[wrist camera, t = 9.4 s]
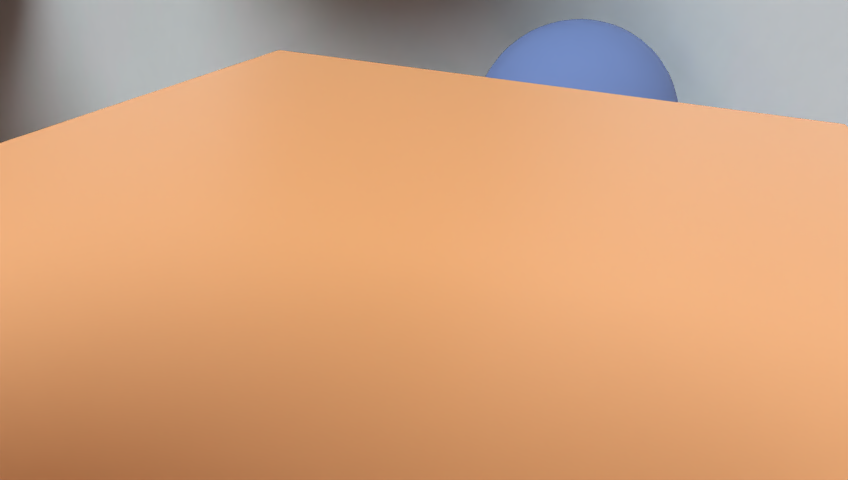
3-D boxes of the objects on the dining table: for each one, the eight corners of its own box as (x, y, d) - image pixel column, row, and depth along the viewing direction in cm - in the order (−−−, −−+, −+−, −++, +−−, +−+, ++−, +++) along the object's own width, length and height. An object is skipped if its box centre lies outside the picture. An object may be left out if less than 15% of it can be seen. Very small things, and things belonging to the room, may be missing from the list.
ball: (712, -16, 15) (672, 113, 20) (493, -37, 17) (503, 90, 21) (681, 174, 13) (646, 270, 18) (438, 136, 15) (461, 234, 19)
